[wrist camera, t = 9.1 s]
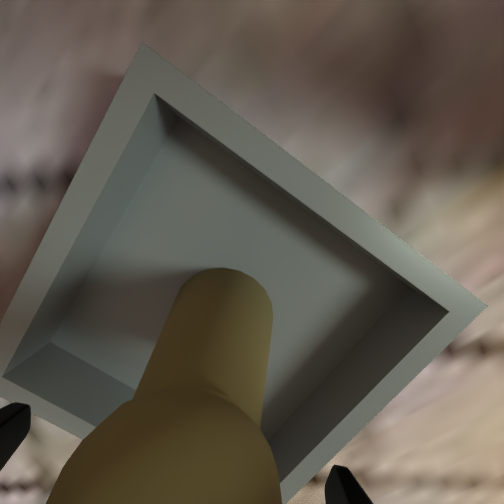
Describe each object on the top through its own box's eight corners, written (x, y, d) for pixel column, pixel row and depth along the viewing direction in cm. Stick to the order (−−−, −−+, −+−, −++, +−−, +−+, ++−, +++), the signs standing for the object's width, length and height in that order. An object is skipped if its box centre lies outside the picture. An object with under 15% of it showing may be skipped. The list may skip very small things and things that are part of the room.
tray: (427, 276, 15) (488, 305, 11) (257, 459, 19) (257, 530, 15) (176, 88, 13) (142, 41, 9) (38, 336, 16) (-30, 381, 12)
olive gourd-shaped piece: (284, 346, 15) (354, 717, 4) (192, 368, 16) (54, 753, 5) (257, 255, 14) (263, 470, 3) (158, 283, 14) (-136, 552, 4)
